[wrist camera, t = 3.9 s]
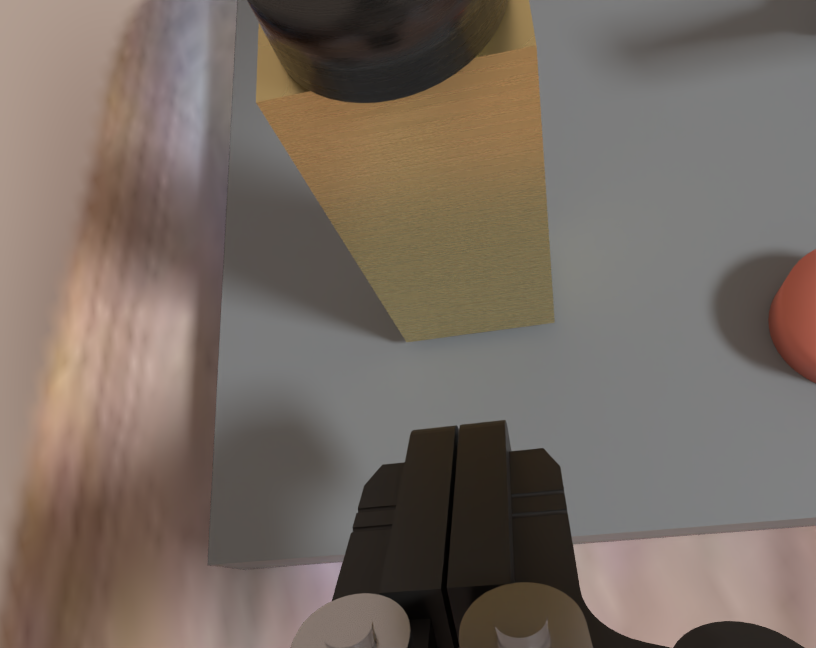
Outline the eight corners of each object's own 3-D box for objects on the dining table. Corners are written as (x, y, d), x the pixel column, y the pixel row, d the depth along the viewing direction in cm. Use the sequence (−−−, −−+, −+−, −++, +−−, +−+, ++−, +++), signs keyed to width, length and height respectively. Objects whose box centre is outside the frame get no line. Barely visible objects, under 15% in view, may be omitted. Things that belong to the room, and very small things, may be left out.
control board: (979, -159, 22) (1041, -276, 19) (1348, 484, 14) (1548, 453, 11) (262, 5, 26) (223, -70, 23) (243, 569, 18) (181, 562, 15)
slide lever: (539, 220, 18) (496, -263, 8) (557, 338, 16) (532, -62, 7) (400, 242, 18) (201, -180, 8) (407, 357, 17) (183, 19, 7)
